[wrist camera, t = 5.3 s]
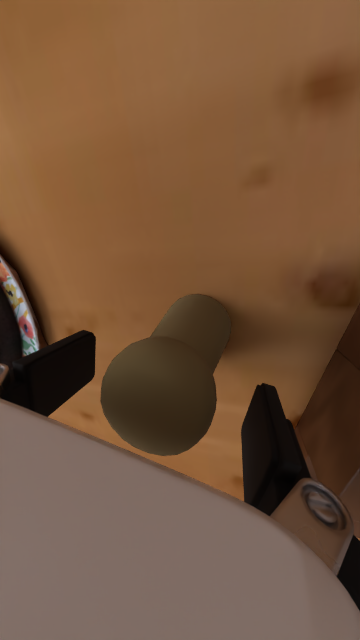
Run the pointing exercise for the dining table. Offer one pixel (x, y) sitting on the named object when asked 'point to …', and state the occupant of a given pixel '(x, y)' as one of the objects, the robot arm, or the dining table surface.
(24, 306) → the chocolate cake
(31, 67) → the dining table surface
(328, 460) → the spice rack
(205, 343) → the olive peg figure
